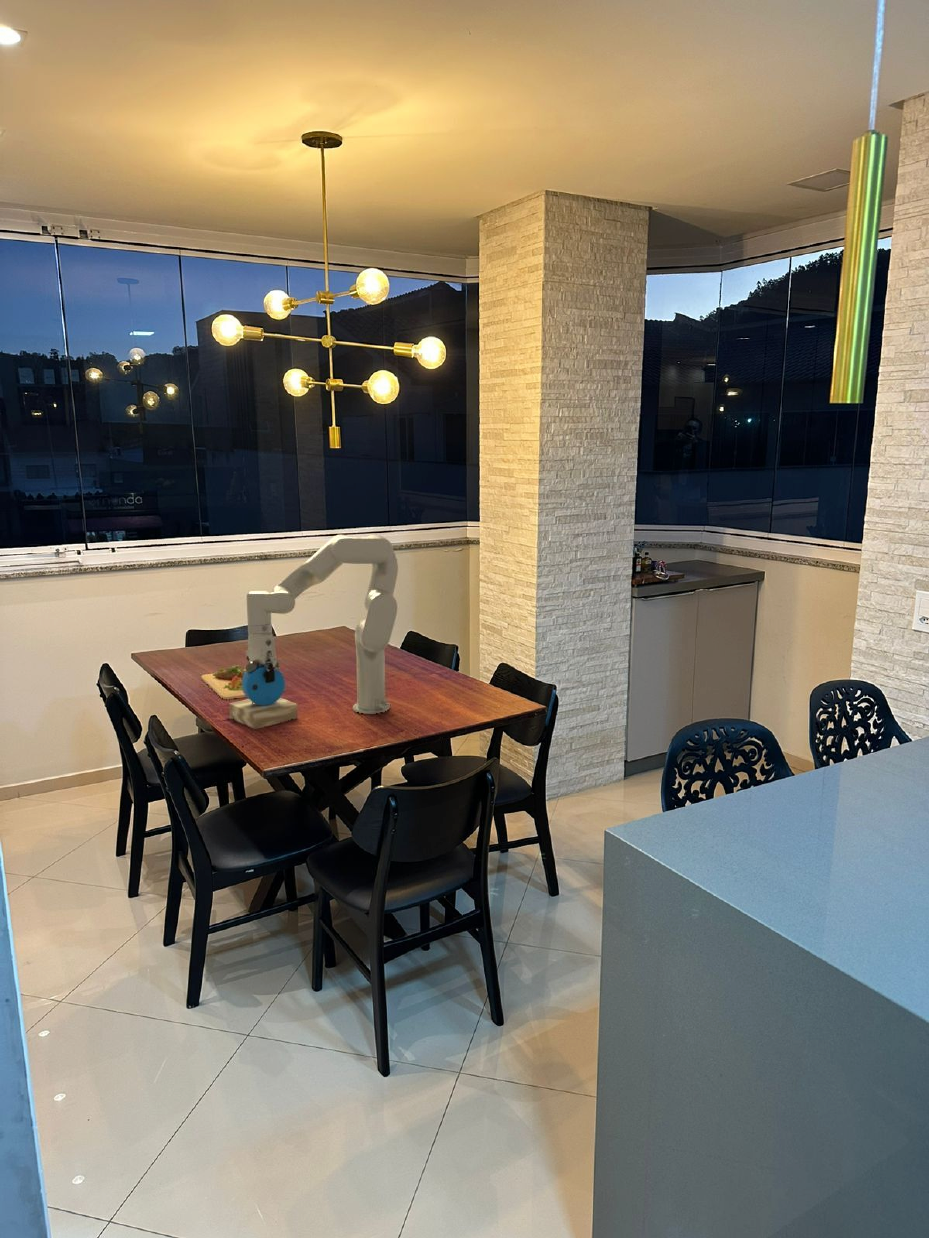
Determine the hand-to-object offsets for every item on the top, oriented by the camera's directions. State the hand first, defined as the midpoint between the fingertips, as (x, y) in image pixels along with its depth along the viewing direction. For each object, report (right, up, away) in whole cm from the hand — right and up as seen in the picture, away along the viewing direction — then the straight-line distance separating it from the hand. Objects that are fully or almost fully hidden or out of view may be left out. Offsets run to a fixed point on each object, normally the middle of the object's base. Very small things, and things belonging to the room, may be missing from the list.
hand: (262, 679), depth 281 cm
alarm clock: (0, -8, +1) cm, 9 cm away
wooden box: (0, -13, +3) cm, 13 cm away
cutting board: (-18, -6, +43) cm, 47 cm away
